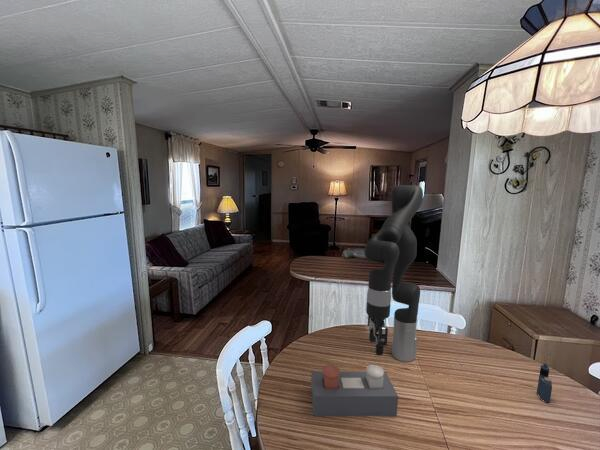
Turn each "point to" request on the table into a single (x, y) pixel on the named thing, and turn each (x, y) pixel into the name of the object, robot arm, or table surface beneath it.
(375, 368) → the white plunger
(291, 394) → the table surface
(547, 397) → the vaping device
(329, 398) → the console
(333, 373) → the red plunger
